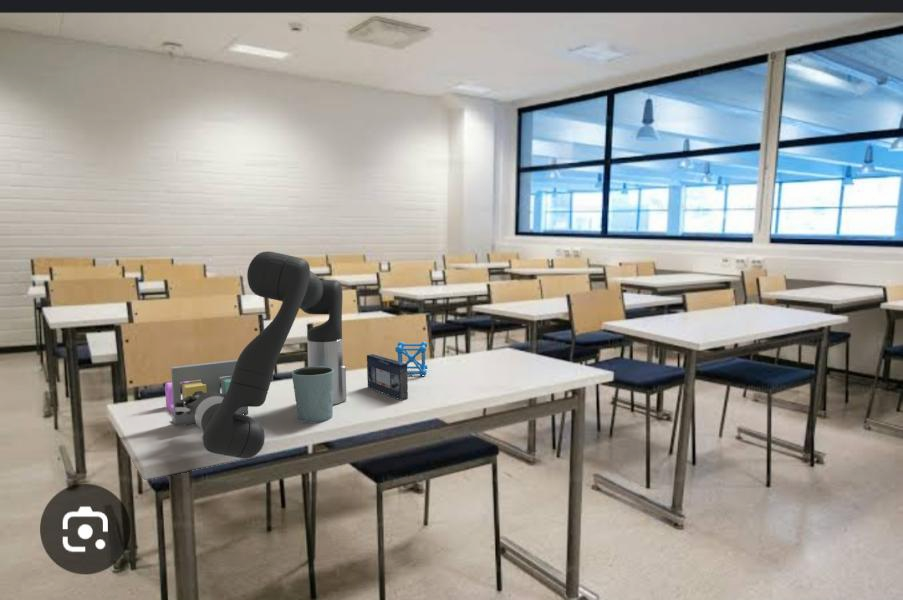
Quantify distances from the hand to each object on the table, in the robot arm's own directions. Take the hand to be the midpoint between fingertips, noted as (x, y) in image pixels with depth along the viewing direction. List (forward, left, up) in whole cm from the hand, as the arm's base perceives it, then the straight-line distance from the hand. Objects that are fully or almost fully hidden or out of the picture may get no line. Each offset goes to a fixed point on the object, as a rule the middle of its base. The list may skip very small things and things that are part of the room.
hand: (197, 395), depth 137 cm
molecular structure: (-70, -23, -9) cm, 74 cm away
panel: (-4, -10, -9) cm, 14 cm away
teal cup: (-26, +5, -9) cm, 28 cm away
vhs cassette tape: (-52, -6, -9) cm, 53 cm away
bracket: (0, -20, -9) cm, 22 cm away
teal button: (-9, -5, -3) cm, 11 cm away
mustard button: (0, -5, -3) cm, 6 cm away
